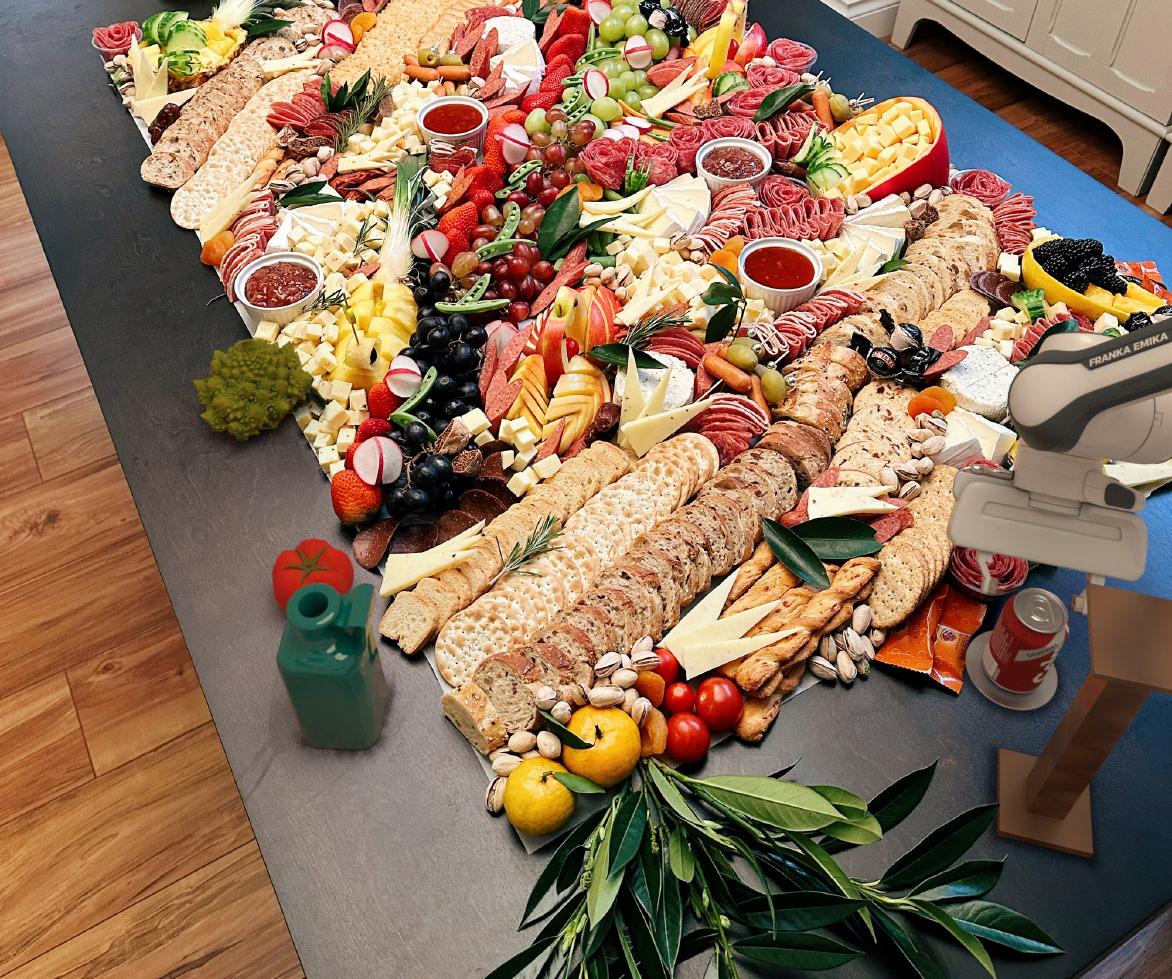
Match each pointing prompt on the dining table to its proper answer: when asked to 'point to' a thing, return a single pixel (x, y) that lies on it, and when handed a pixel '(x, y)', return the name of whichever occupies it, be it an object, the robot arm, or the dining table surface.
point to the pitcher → (333, 666)
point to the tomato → (311, 569)
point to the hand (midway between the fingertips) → (1032, 603)
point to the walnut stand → (1088, 722)
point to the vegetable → (255, 387)
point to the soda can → (1026, 640)
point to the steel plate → (1000, 694)
